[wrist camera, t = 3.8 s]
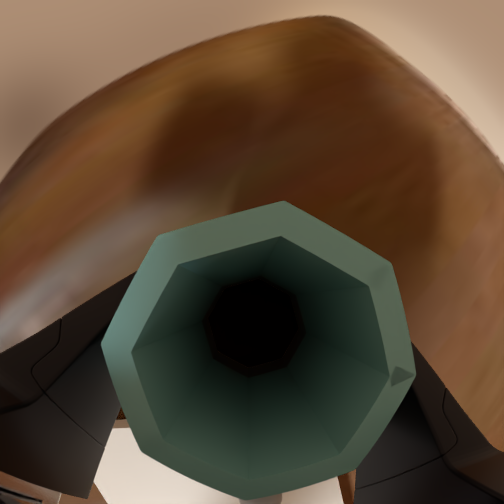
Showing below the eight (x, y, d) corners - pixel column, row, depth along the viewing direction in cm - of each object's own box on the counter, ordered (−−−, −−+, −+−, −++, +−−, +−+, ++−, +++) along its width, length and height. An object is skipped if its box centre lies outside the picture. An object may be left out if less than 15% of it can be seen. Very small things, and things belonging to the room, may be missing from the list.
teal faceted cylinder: (318, 357, 14) (422, 435, 4) (217, 386, 14) (171, 506, 4) (289, 258, 15) (362, 182, 5) (187, 286, 15) (83, 259, 5)
